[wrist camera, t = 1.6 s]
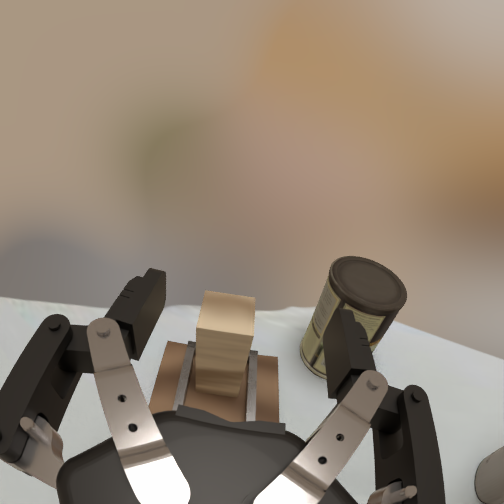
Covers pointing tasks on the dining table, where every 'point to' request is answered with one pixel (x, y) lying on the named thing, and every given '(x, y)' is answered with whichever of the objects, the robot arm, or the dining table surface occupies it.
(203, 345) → the birch block
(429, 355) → the dining table surface
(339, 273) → the coffee can
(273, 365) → the board
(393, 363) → the dining table surface
